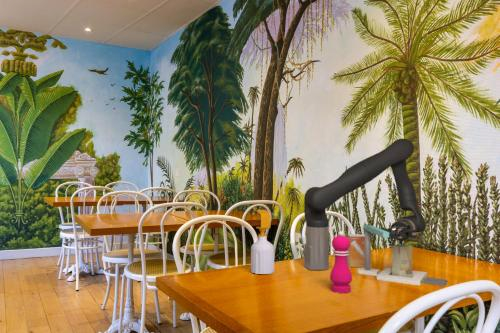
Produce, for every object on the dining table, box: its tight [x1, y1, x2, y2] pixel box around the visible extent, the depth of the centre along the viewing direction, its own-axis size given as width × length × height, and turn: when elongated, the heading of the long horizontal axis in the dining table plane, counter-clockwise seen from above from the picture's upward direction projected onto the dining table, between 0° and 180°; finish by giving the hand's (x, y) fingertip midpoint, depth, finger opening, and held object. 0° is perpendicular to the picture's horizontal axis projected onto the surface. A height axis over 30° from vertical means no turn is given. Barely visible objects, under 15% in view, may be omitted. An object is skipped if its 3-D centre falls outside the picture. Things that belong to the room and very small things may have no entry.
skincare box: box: [391, 243, 413, 278], centre depth 160 cm, size 6×4×12 cm
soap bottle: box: [250, 209, 275, 275], centre depth 168 cm, size 9×9×25 cm
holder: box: [357, 230, 428, 286], centre depth 162 cm, size 24×15×17 cm, turn 58°
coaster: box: [422, 276, 448, 287], centre depth 154 cm, size 7×7×1 cm
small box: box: [347, 233, 365, 268], centre depth 179 cm, size 8×6×13 cm
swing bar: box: [362, 223, 390, 239], centre depth 158 cm, size 21×3×2 cm, turn 4°
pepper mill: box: [329, 230, 353, 294], centre depth 143 cm, size 7×7×20 cm
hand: (392, 235), depth 146 cm, fingers closed
